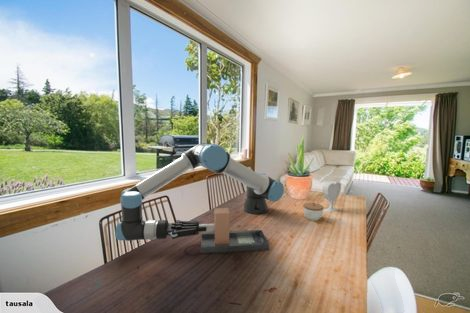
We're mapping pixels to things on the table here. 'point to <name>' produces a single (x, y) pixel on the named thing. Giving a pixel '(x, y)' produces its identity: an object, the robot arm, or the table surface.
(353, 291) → the table surface
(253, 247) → the grey tray
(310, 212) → the lidded jar
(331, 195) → the heart sculpture
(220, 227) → the terracotta block
